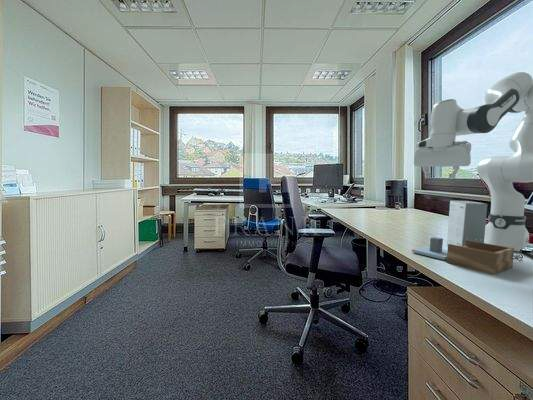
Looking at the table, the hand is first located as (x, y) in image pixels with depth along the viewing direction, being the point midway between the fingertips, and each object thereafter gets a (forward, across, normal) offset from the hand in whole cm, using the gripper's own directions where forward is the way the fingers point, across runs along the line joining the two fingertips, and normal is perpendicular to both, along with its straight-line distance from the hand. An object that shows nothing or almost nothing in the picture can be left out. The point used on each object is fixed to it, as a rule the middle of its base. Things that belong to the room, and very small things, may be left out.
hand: (439, 178), depth 118 cm
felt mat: (+29, -4, +6) cm, 30 cm away
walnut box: (+29, -18, +6) cm, 35 cm away
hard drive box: (+29, -6, -11) cm, 32 cm away
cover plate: (+29, -4, +6) cm, 30 cm away
